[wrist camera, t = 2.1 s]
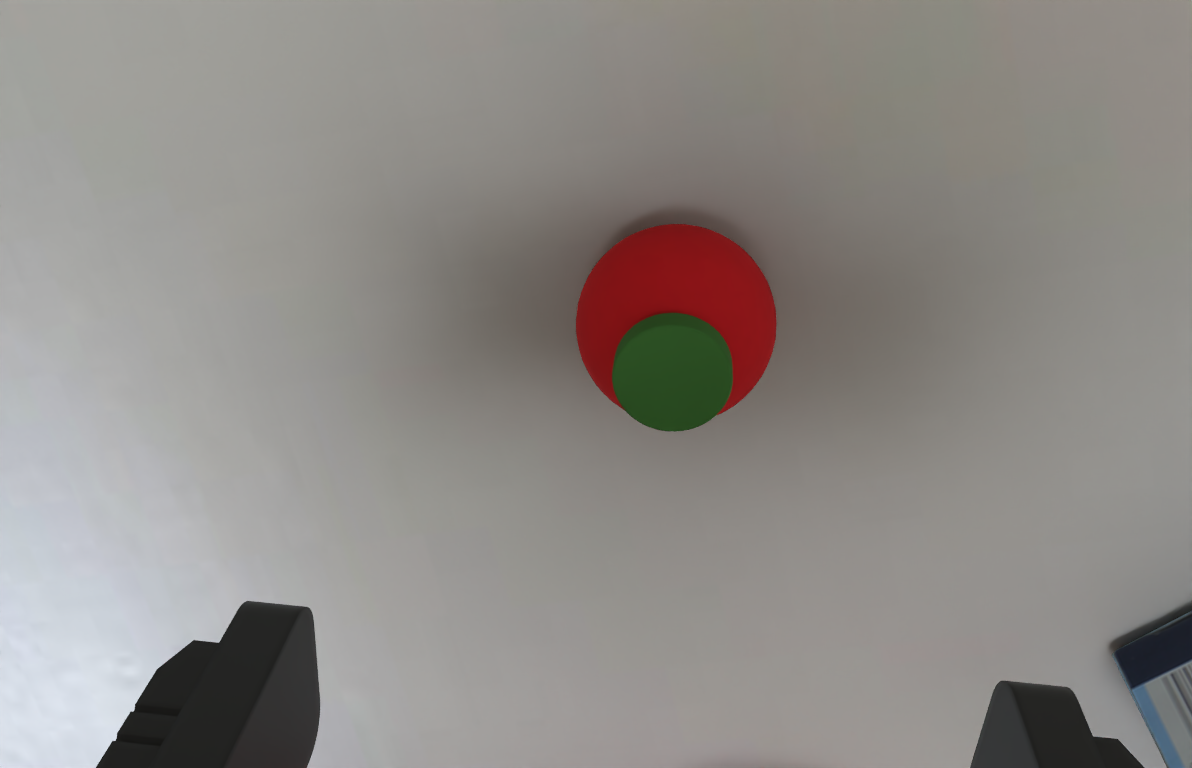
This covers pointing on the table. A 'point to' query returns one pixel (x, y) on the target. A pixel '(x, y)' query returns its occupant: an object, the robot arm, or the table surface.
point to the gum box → (1163, 686)
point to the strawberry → (676, 325)
